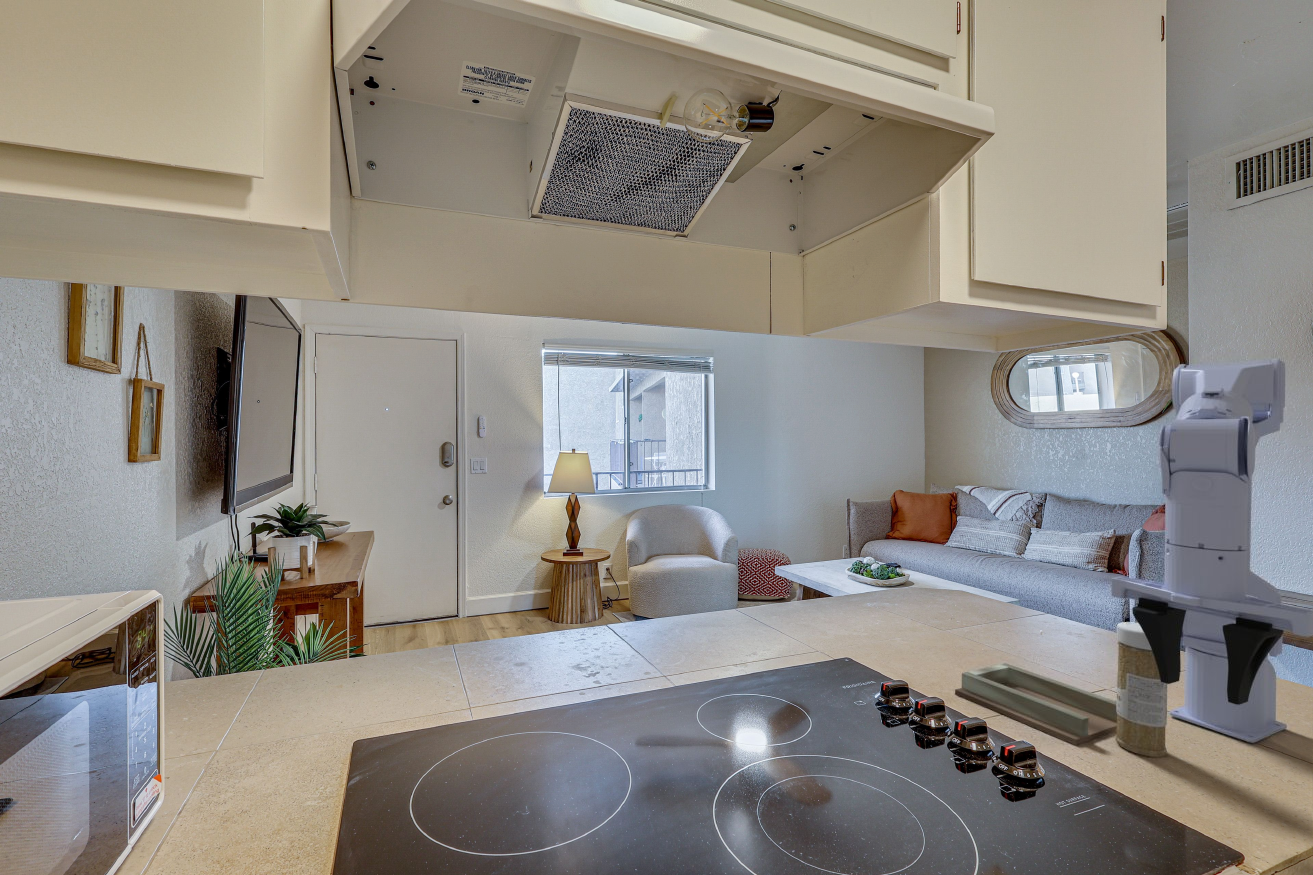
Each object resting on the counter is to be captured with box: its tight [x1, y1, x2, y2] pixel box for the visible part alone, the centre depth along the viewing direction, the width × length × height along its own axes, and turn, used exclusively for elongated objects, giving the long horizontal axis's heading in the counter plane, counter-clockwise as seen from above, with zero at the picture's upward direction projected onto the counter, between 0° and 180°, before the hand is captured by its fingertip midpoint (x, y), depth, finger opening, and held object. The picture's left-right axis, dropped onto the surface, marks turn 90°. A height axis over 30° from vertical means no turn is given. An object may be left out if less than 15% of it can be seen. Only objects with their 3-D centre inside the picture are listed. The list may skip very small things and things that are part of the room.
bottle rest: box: [954, 663, 1117, 746], centre depth 77 cm, size 12×15×3 cm
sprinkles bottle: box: [1114, 621, 1168, 758], centre depth 67 cm, size 5×5×13 cm
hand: (1202, 691), depth 57 cm, fingers open, 4 cm apart
